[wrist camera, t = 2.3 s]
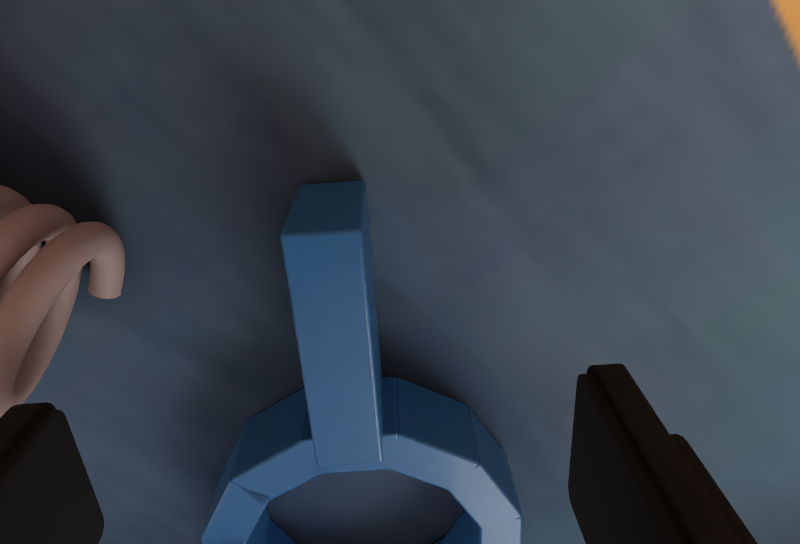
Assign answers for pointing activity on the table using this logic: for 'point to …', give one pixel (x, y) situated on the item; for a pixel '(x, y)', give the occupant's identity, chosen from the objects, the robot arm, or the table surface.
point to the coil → (45, 284)
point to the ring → (353, 397)
